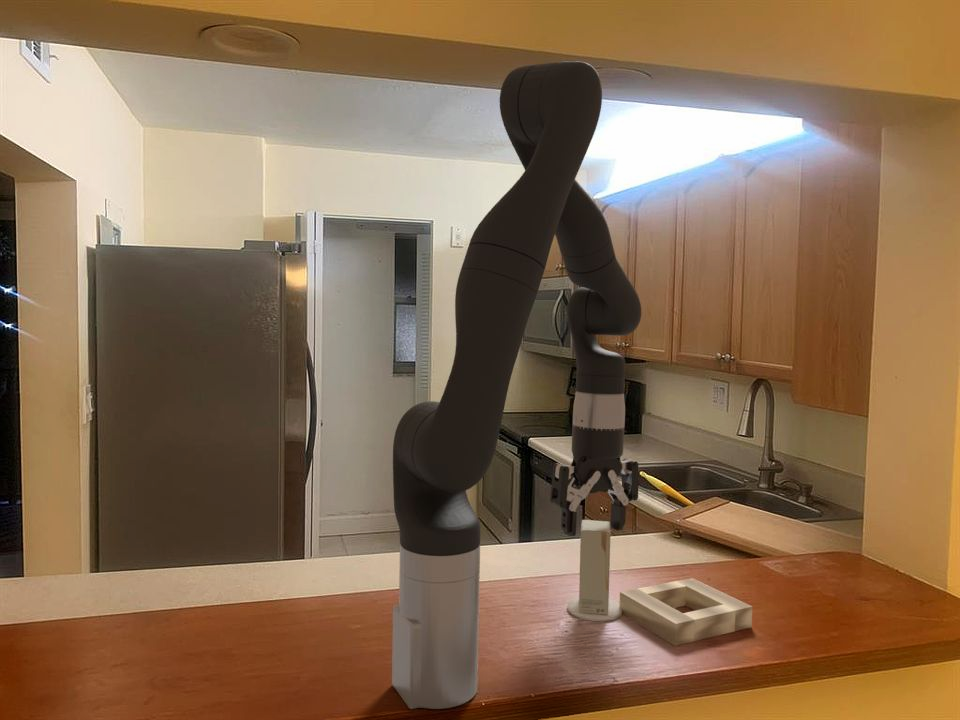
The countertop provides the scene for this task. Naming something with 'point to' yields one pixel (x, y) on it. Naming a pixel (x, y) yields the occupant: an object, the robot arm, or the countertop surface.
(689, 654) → the countertop surface
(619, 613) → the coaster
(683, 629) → the pocket block
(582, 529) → the skincare box
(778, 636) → the countertop surface
